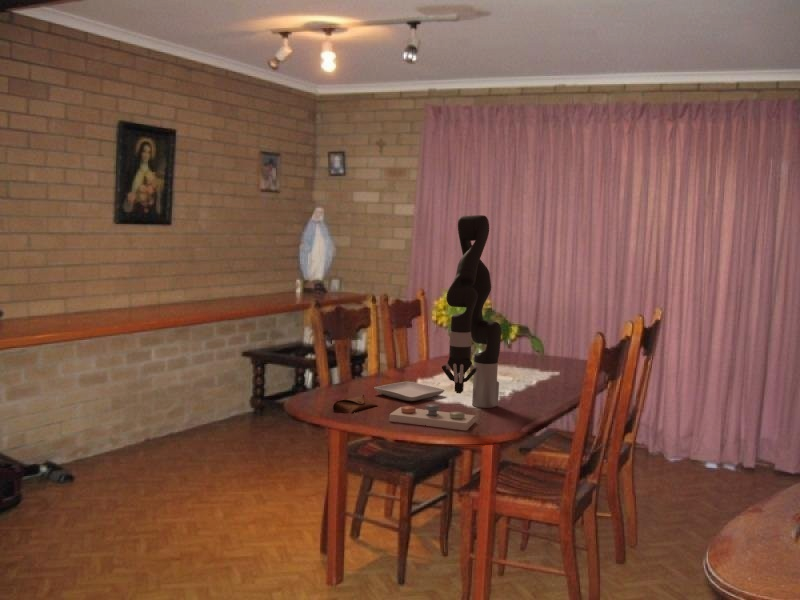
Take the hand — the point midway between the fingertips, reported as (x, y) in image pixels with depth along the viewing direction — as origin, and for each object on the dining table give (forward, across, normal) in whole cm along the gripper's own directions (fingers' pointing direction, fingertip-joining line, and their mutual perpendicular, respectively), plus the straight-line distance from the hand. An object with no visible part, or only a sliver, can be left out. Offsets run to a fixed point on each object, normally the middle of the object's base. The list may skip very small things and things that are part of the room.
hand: (458, 392), depth 275 cm
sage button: (+11, 0, 0) cm, 11 cm away
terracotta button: (+11, +18, 0) cm, 21 cm away
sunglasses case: (+12, +41, -7) cm, 43 cm away
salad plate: (+12, +30, -36) cm, 48 cm away
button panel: (+11, +9, 0) cm, 15 cm away
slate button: (+9, +9, 0) cm, 13 cm away
